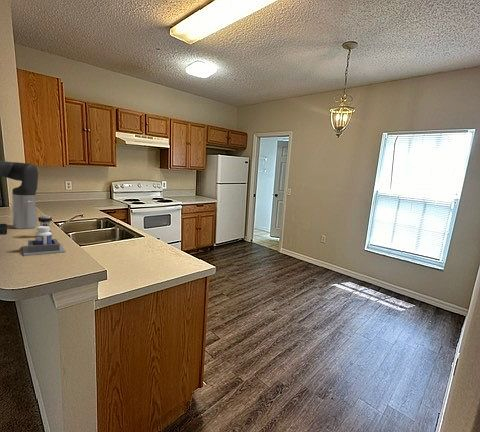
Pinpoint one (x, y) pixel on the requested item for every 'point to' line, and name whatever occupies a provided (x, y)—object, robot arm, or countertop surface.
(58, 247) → the socket
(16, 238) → the countertop surface
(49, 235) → the pill bottle
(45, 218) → the push button
